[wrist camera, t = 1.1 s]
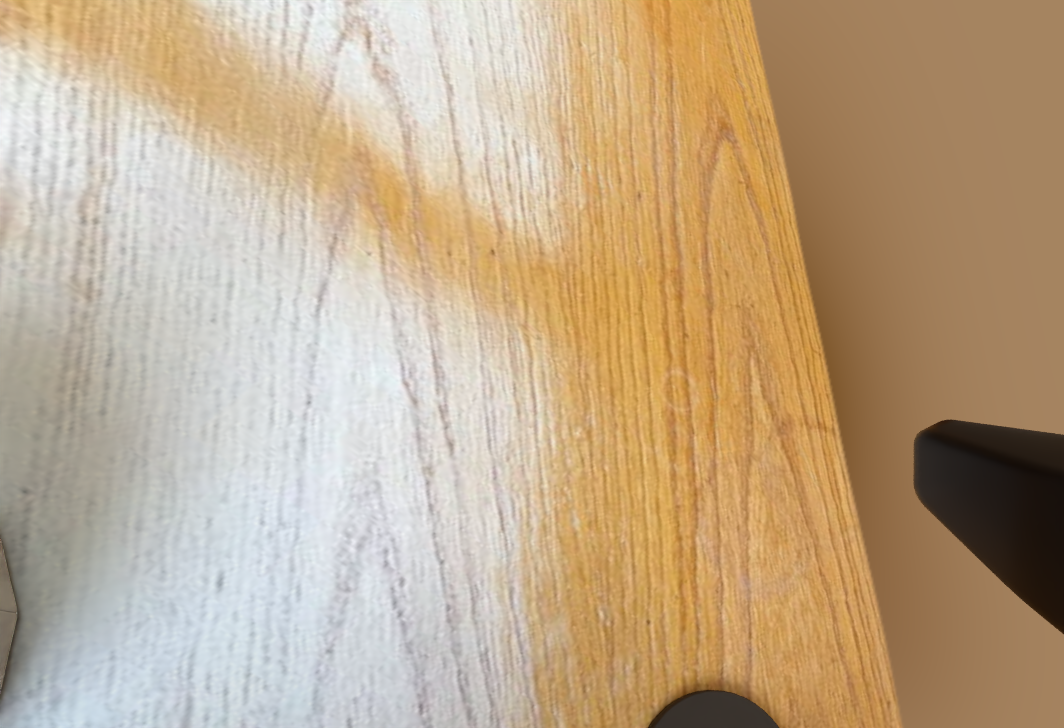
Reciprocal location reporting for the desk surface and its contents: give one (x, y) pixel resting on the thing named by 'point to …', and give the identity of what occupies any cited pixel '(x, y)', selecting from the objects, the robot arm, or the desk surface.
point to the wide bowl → (6, 614)
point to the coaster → (713, 712)
